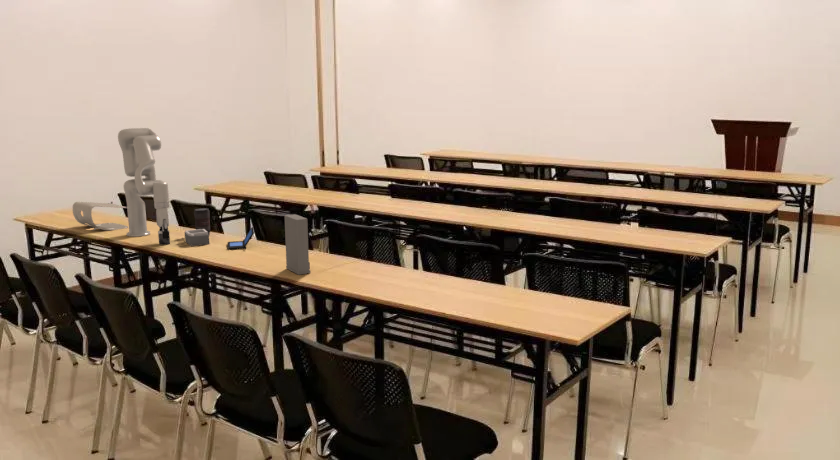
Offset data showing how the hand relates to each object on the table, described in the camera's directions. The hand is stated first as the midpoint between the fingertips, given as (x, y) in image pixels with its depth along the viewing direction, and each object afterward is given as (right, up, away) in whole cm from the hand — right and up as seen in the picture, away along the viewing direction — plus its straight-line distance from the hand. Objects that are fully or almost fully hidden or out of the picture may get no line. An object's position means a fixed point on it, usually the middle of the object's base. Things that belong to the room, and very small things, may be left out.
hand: (164, 237), depth 382 cm
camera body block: (+16, -3, +4) cm, 17 cm away
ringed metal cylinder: (0, -4, +1) cm, 4 cm away
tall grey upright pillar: (+81, -15, -56) cm, 100 cm away
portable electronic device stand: (-53, +5, +47) cm, 71 cm away
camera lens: (+14, 0, +23) cm, 27 cm away
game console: (+42, -5, -5) cm, 42 cm away
